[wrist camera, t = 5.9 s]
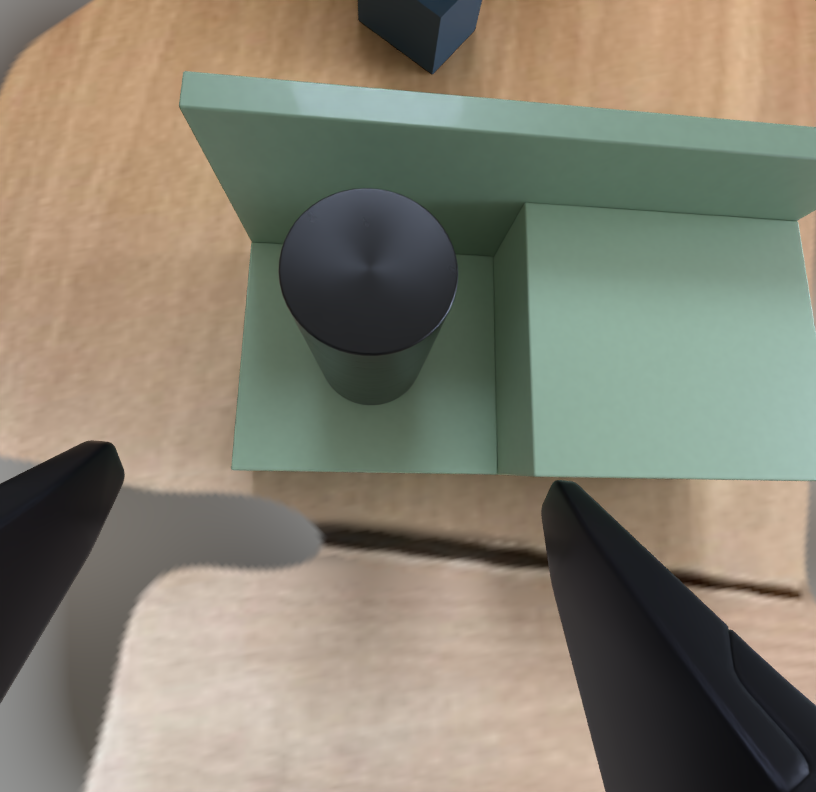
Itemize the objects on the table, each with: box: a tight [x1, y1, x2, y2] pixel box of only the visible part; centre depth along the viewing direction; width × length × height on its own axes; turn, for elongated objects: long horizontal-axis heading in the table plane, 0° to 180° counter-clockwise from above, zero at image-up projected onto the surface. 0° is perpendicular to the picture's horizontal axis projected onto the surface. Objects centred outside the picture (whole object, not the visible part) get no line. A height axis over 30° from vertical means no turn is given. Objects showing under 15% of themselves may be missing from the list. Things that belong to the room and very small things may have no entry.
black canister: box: [278, 188, 458, 405], centre depth 14 cm, size 4×4×8 cm
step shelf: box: [179, 71, 816, 481], centre depth 16 cm, size 22×11×10 cm, turn 89°
